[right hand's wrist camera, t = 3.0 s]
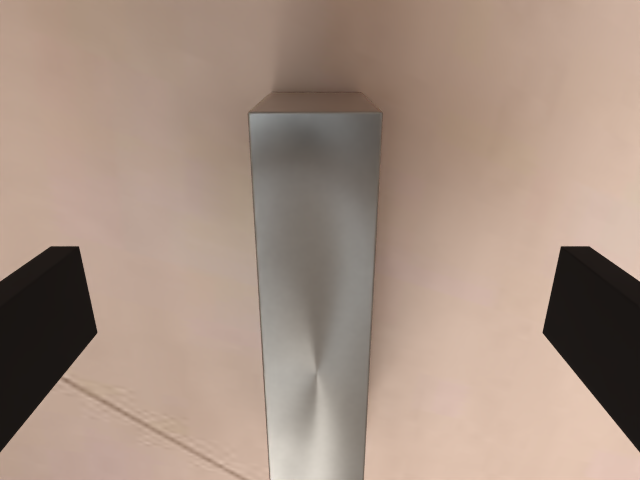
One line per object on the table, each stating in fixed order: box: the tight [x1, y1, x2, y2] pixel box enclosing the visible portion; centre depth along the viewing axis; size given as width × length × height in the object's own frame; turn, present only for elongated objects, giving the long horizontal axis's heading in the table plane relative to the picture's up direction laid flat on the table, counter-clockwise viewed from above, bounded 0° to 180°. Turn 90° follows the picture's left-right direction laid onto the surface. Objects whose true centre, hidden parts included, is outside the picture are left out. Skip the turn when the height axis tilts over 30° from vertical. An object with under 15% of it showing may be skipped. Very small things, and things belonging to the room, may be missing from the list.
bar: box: [248, 92, 383, 480], centre depth 26 cm, size 25×5×9 cm, turn 0°
